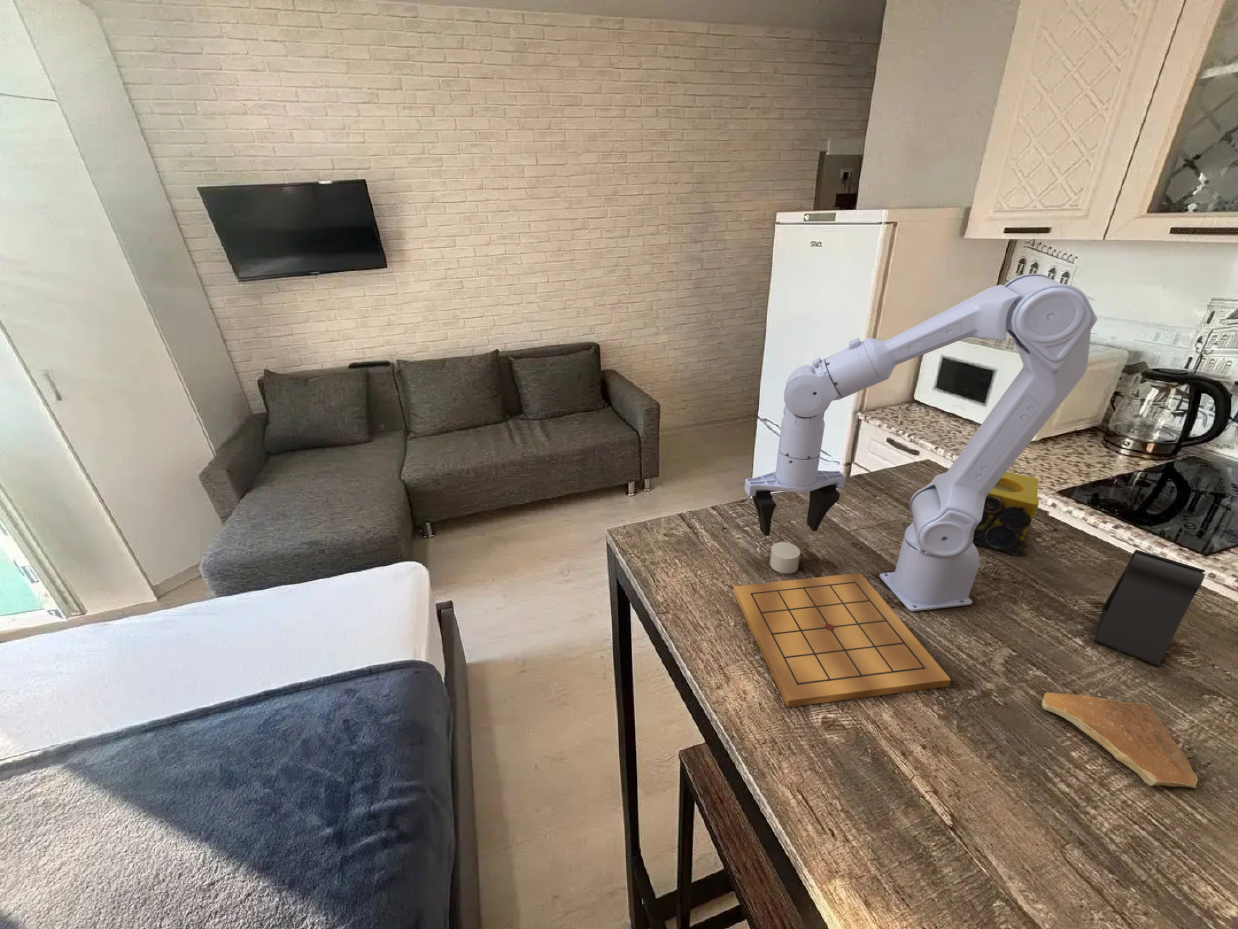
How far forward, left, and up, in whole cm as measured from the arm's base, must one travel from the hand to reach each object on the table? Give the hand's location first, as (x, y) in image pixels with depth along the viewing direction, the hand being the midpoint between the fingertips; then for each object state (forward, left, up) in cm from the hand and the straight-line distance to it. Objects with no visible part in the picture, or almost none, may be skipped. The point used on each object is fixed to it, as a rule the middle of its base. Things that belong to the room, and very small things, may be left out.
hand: (788, 530), depth 79 cm
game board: (0, +15, -7) cm, 16 cm away
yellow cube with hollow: (-37, -3, -7) cm, 38 cm away
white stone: (0, 0, -7) cm, 7 cm away
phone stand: (-38, +21, -7) cm, 44 cm away
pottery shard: (-22, +34, -7) cm, 41 cm away
